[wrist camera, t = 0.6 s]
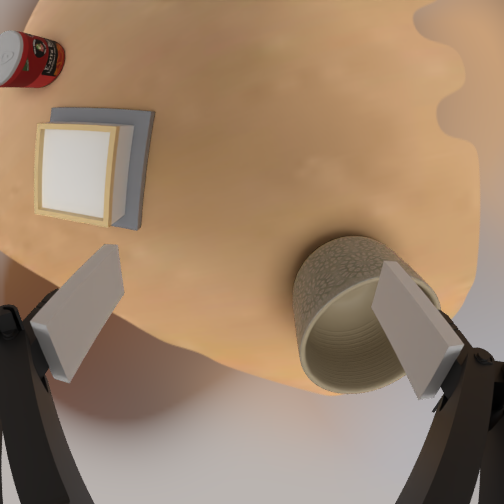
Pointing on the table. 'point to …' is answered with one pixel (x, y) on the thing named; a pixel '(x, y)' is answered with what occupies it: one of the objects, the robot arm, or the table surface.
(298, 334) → the planter
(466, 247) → the table surface
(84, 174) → the base
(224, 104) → the table surface
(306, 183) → the table surface
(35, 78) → the canned food
